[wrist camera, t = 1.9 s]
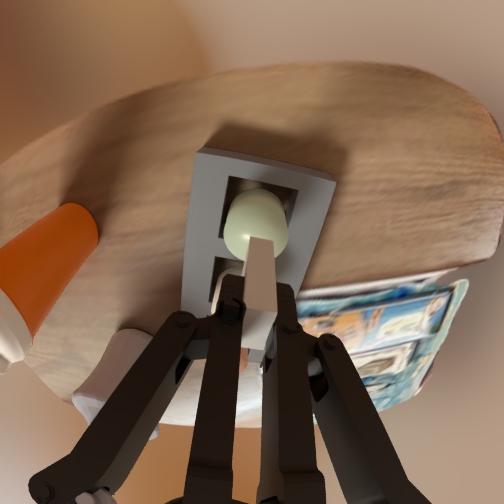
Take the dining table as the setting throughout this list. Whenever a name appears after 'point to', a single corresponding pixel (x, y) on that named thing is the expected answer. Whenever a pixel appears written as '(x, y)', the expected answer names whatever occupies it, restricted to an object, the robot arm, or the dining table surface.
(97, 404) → the soap bottle
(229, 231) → the pale green rounded knob
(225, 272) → the cream egg
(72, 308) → the dining table surface
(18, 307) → the shaker bottle
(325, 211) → the panel
